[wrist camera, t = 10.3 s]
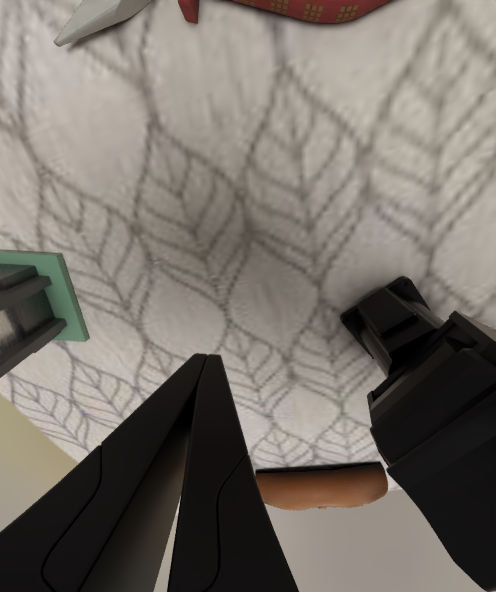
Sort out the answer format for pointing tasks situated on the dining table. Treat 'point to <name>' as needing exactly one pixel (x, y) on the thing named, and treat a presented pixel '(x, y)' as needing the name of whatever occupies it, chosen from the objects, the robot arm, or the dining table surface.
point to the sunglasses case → (323, 487)
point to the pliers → (125, 3)
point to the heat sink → (22, 308)
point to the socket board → (59, 296)
